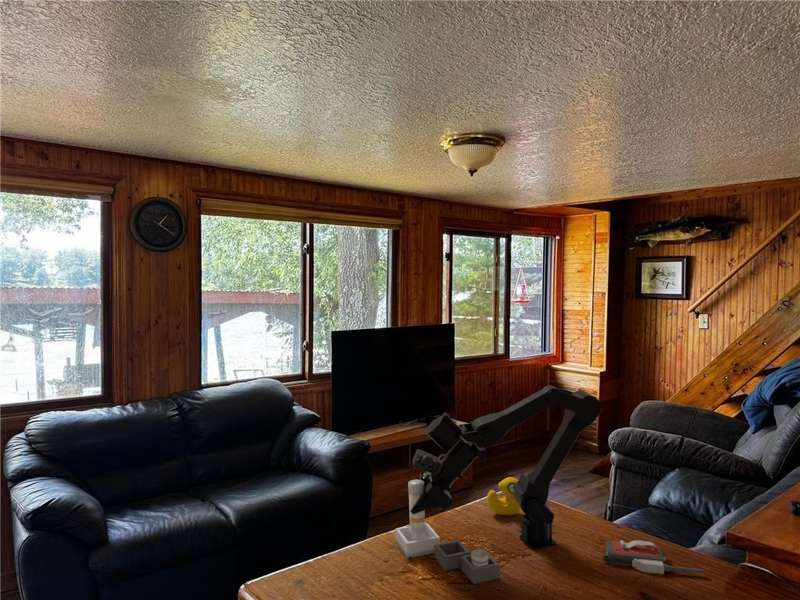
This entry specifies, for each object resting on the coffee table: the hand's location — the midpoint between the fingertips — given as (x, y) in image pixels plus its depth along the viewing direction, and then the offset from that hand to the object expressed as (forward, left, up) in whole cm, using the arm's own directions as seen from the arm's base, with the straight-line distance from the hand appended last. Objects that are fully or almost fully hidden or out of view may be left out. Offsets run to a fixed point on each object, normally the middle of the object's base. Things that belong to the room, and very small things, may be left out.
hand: (411, 509), depth 132 cm
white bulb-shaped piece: (-1, 0, -7) cm, 7 cm away
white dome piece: (-10, +16, -9) cm, 21 cm away
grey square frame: (-6, +9, -9) cm, 15 cm away
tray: (-1, 0, -9) cm, 9 cm away
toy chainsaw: (-47, +26, -10) cm, 54 cm away
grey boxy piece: (-10, +16, -9) cm, 21 cm away
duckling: (-30, -8, -10) cm, 33 cm away
